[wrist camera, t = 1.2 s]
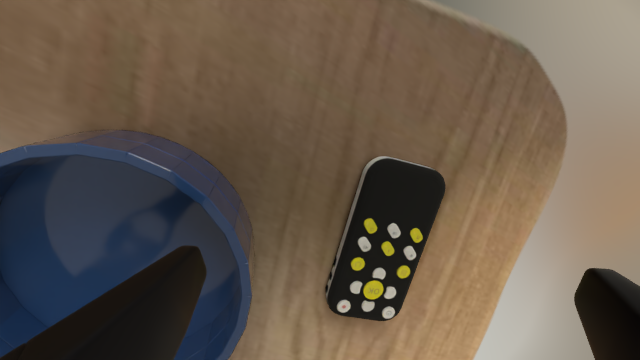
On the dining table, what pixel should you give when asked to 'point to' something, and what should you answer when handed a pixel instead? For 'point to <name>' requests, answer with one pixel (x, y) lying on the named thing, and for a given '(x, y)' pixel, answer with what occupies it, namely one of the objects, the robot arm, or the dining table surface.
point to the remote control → (384, 238)
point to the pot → (118, 232)
